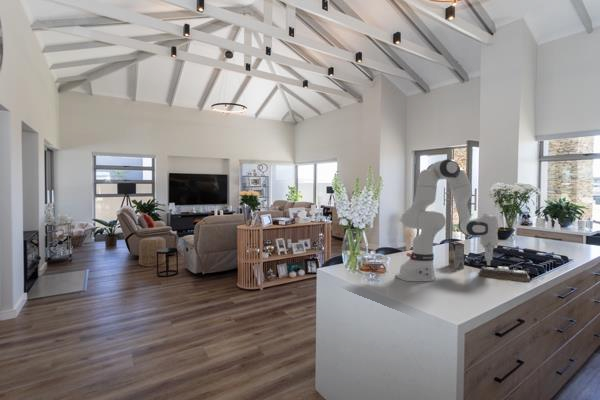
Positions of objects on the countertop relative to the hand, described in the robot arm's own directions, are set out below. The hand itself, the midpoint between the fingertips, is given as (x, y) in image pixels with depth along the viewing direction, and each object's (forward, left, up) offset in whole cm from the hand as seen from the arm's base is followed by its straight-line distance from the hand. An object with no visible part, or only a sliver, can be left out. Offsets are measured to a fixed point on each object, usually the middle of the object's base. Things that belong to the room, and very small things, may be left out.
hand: (488, 264), depth 181 cm
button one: (+6, -5, -3) cm, 8 cm away
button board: (+6, -5, -6) cm, 10 cm away
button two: (+11, -10, -4) cm, 15 cm away
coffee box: (-3, +22, -7) cm, 24 cm away
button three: (+1, +1, -4) cm, 4 cm away
